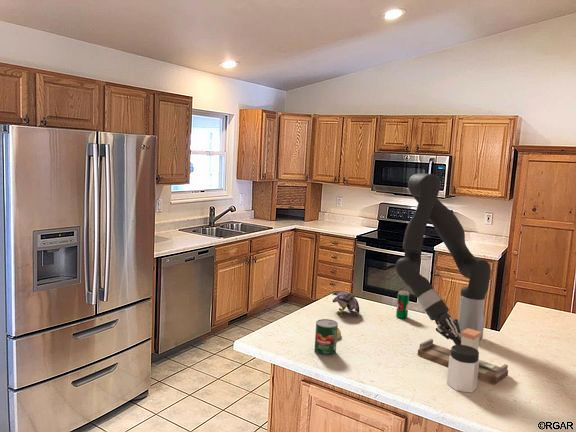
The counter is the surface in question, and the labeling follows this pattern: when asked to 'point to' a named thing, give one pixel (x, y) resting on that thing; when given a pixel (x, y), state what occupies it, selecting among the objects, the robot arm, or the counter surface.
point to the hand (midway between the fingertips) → (462, 347)
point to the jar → (463, 368)
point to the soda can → (402, 304)
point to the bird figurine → (346, 301)
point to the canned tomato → (326, 337)
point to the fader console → (442, 356)
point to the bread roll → (338, 333)
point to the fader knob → (470, 338)
